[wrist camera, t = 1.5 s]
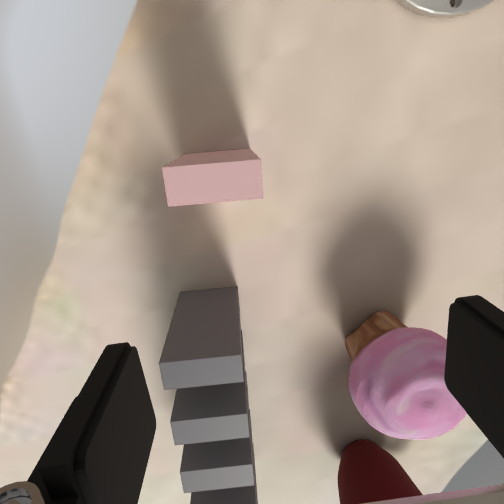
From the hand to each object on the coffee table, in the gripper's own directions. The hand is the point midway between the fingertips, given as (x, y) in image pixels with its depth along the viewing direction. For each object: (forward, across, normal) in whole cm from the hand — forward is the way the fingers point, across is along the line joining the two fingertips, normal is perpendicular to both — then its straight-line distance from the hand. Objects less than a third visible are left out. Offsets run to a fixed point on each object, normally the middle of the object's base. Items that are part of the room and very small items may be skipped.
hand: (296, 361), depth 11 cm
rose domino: (+20, +2, -4) cm, 20 cm away
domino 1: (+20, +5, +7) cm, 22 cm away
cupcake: (+20, -10, +14) cm, 26 cm away
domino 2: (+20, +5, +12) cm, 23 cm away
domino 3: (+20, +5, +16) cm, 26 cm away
